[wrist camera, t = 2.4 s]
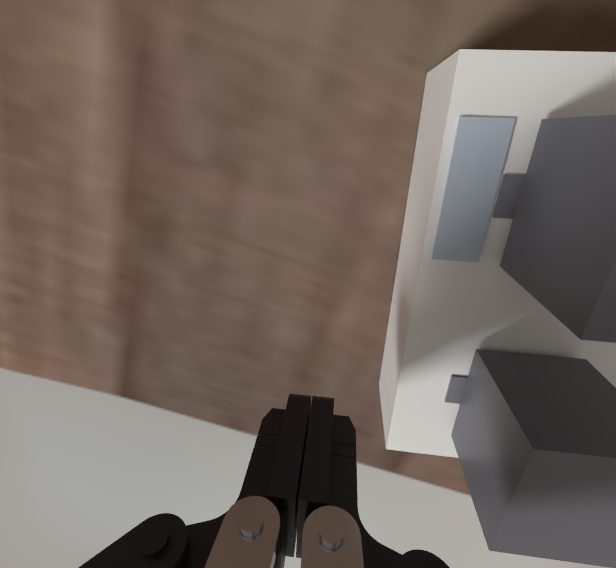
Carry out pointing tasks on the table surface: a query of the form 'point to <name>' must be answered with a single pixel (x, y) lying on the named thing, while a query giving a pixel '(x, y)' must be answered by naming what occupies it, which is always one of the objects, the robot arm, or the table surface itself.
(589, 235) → the inner tab
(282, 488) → the robot arm
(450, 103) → the switch panel
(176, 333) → the table surface
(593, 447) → the outer tab
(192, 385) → the table surface
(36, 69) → the table surface
